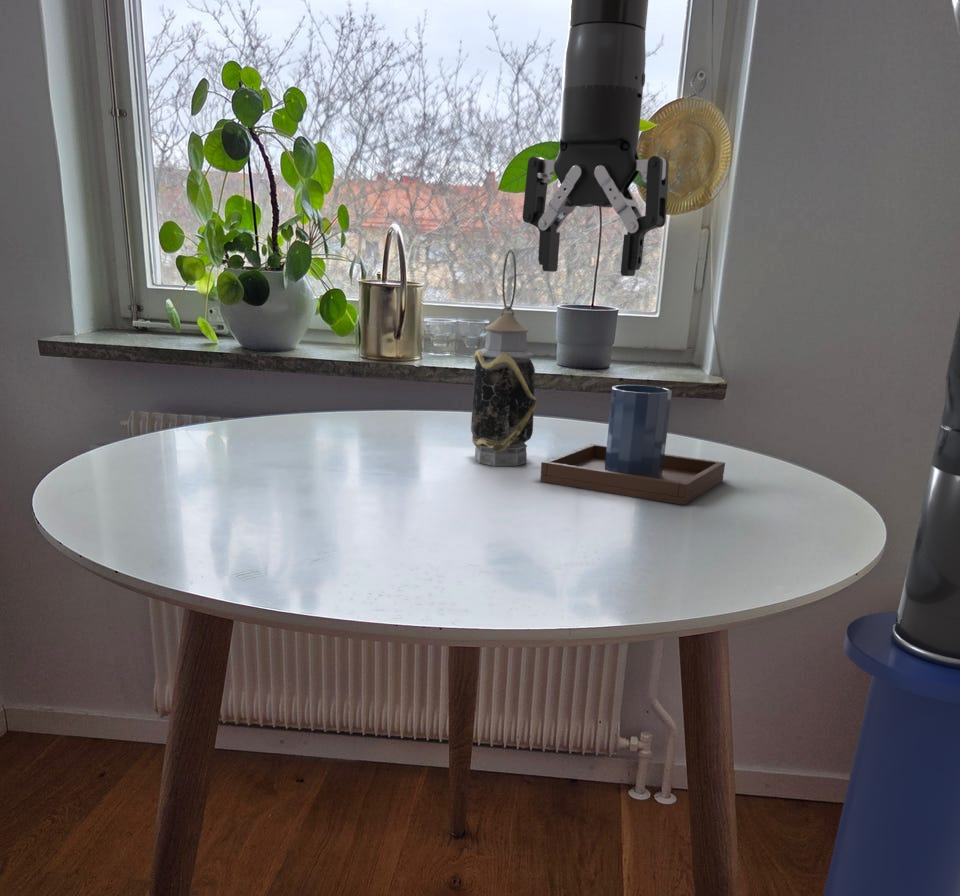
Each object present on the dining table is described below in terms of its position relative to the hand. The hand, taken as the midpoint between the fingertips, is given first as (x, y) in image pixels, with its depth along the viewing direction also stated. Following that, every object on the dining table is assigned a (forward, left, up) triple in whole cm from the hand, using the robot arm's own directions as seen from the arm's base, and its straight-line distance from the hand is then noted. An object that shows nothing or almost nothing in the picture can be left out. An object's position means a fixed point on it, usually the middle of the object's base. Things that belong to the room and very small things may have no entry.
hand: (588, 273), depth 94 cm
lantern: (+16, -13, -23) cm, 31 cm away
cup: (-2, -13, -22) cm, 26 cm away
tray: (-2, -13, -23) cm, 27 cm away
